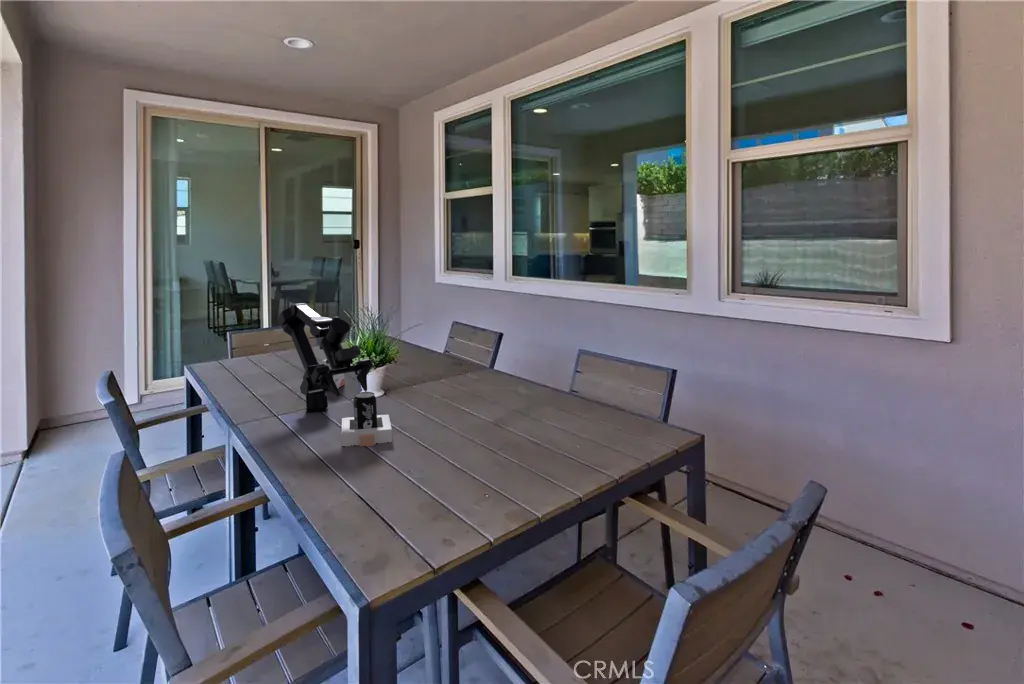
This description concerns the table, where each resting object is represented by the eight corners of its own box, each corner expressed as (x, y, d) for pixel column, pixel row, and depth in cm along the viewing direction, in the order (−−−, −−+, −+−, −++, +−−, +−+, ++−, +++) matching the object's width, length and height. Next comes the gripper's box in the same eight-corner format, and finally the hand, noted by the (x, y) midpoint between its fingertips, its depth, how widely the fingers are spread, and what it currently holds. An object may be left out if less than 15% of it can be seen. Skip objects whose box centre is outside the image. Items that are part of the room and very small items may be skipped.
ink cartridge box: (333, 384, 223) (332, 348, 220) (345, 385, 222) (343, 349, 219) (322, 390, 215) (320, 353, 212) (334, 390, 214) (332, 353, 211)
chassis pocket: (341, 448, 156) (341, 435, 155) (342, 430, 170) (342, 418, 170) (392, 444, 159) (392, 430, 159) (388, 426, 174) (388, 414, 173)
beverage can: (381, 431, 167) (380, 392, 165) (367, 438, 161) (366, 398, 159) (364, 427, 170) (363, 390, 168) (350, 434, 164) (348, 395, 162)
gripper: (313, 340, 164) (332, 384, 158) (369, 334, 177) (388, 374, 171) (303, 362, 171) (321, 404, 165) (357, 354, 183) (376, 393, 178)
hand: (352, 393), depth 169 cm, fingers open, 9 cm apart
